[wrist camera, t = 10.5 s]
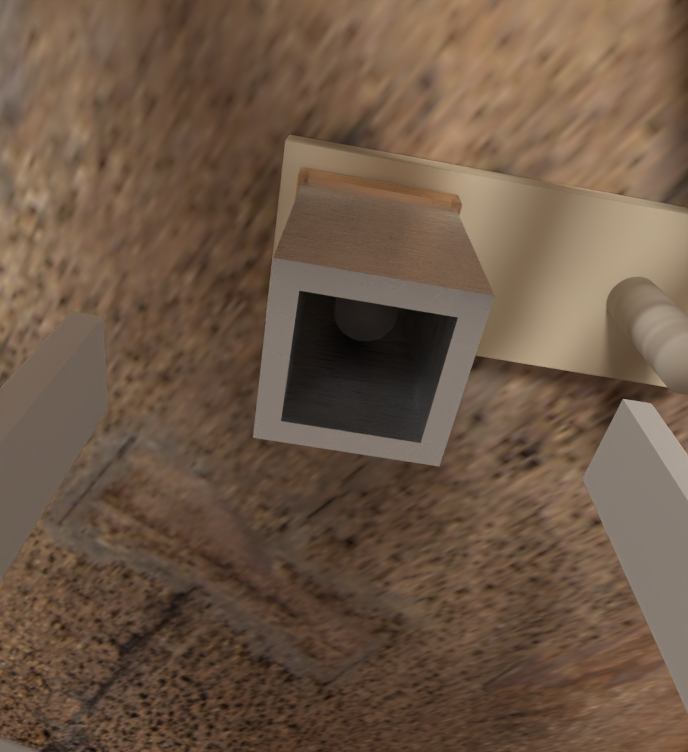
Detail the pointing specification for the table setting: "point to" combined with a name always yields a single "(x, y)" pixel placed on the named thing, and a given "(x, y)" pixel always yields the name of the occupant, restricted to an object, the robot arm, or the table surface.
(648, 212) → the pin board
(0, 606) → the table surface
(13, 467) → the robot arm
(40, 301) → the table surface
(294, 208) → the sleeve
